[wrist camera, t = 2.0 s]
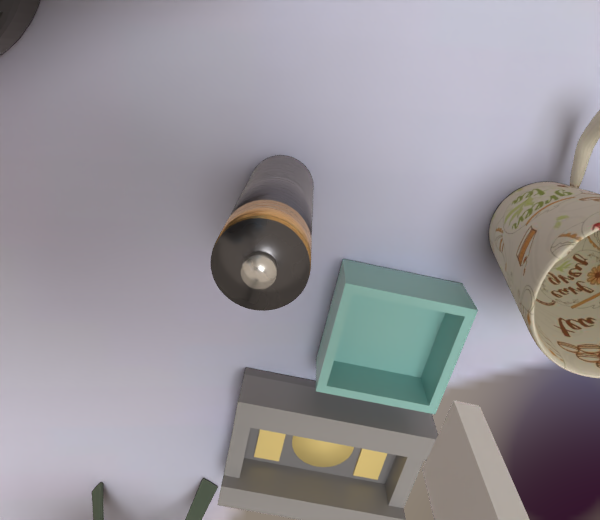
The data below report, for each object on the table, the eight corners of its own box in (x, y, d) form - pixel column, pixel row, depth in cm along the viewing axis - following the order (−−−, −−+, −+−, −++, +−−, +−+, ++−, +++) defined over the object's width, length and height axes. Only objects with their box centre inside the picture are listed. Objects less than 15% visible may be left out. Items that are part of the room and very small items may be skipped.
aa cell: (255, 148, 30) (214, 214, 18) (320, 162, 30) (320, 236, 18) (244, 210, 31) (201, 307, 20) (306, 223, 32) (298, 326, 20)
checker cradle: (245, 367, 36) (237, 401, 33) (428, 402, 37) (439, 440, 34) (226, 465, 40) (217, 505, 37) (391, 495, 41) (398, 537, 38)
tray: (343, 258, 32) (345, 283, 29) (462, 283, 33) (478, 310, 30) (316, 359, 36) (315, 391, 32) (424, 380, 36) (435, 414, 33)
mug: (458, 282, 33) (512, 373, 24) (498, 83, 28) (586, 103, 19) (583, 289, 33) (686, 384, 24) (647, 91, 28) (808, 115, 19)
